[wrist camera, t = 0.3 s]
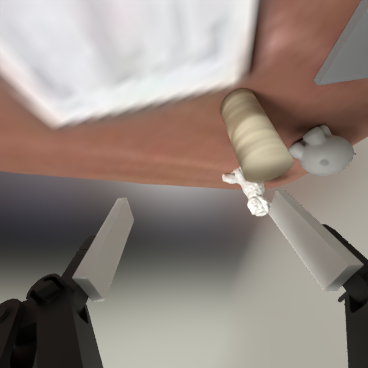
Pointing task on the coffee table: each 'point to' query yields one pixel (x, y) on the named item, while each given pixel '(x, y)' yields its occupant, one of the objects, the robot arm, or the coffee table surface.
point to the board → (348, 51)
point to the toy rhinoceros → (322, 152)
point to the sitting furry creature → (250, 192)
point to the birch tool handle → (254, 137)
